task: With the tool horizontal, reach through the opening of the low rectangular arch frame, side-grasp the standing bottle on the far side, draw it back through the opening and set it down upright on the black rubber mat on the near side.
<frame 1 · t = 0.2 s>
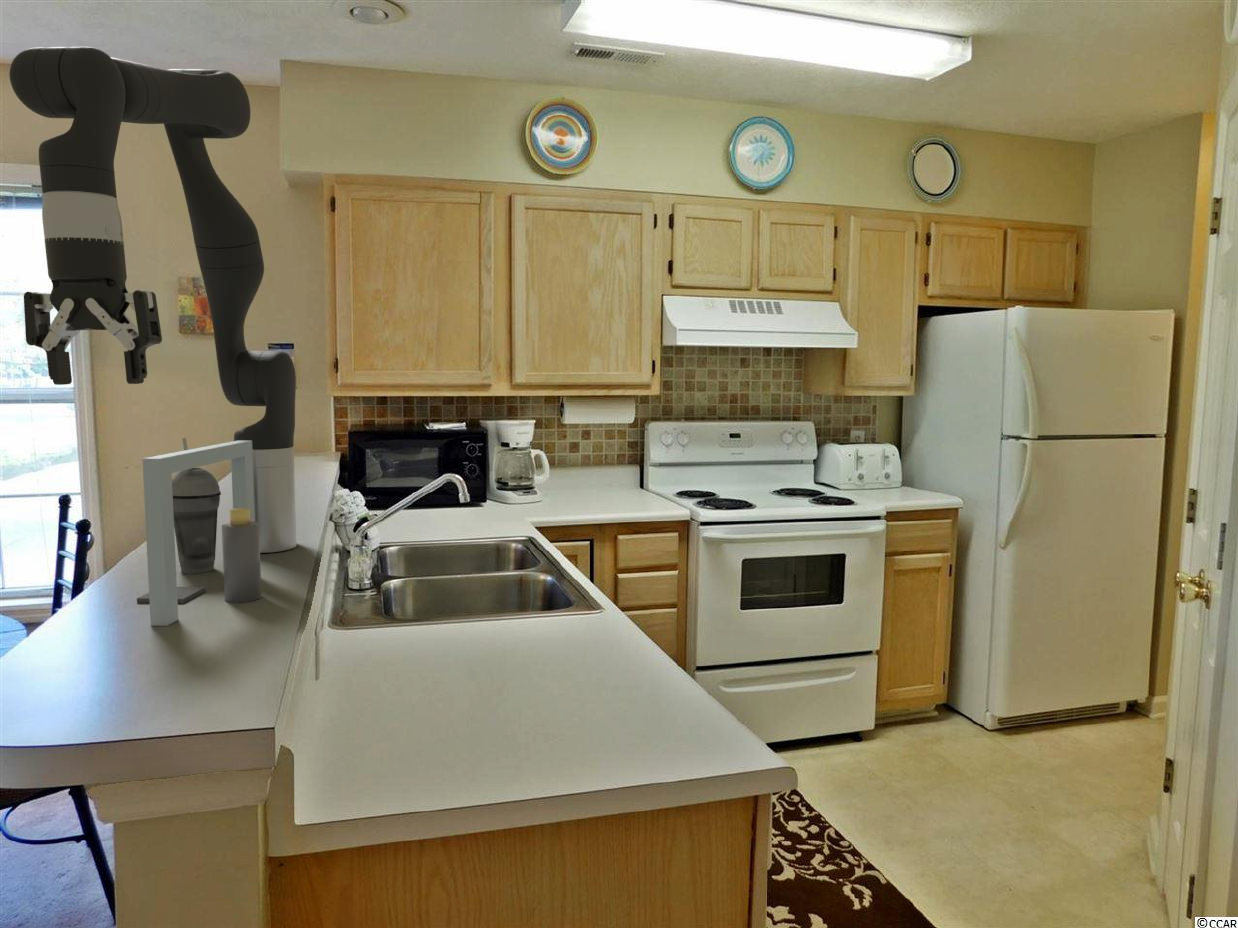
hand: (99, 384, 97), 29 cm above the counter, tool pointing down, fingers open, 8 cm apart
rectangular arch frame: (209, 597, 114), on the counter
beverage cup: (197, 571, 129), on the counter
mat: (172, 596, 114), on the counter
bottle: (243, 598, 114), on the counter
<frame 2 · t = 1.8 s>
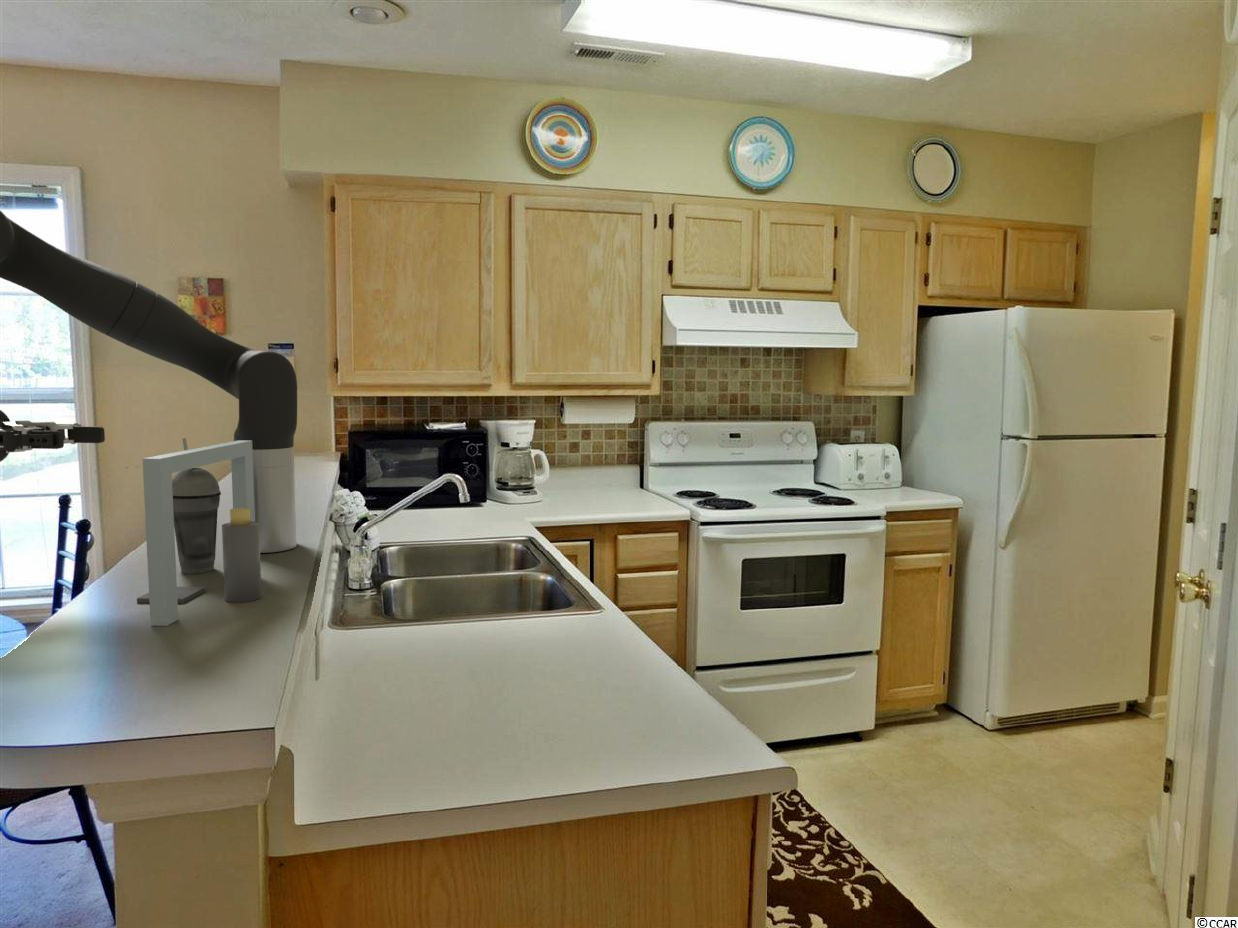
hand: (83, 437, 111), 21 cm above the counter, tool horizontal, fingers open, 8 cm apart
nothing on the counter moved.
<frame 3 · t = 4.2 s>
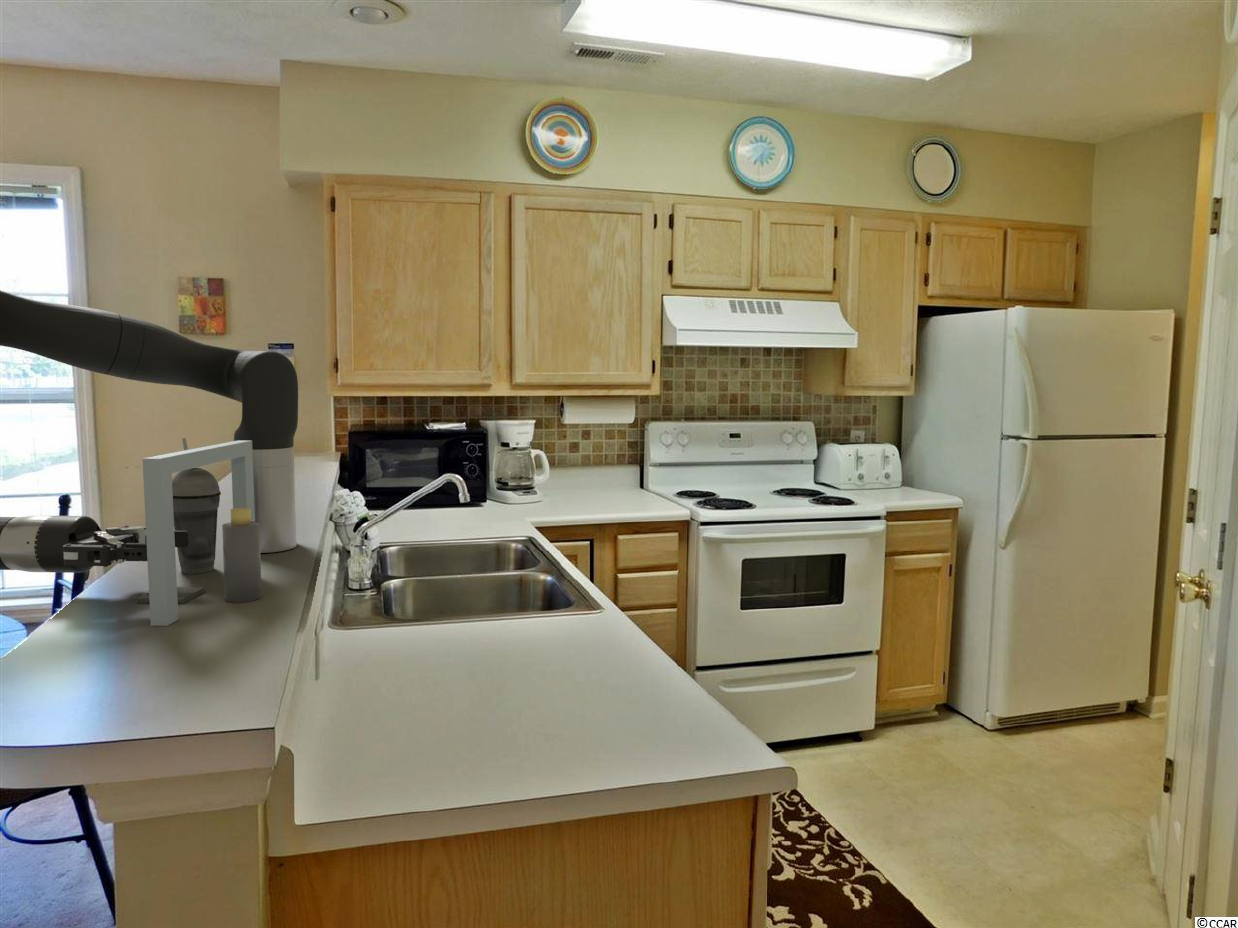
hand: (173, 545, 113), 7 cm above the counter, tool horizontal, fingers open, 8 cm apart
nothing on the counter moved.
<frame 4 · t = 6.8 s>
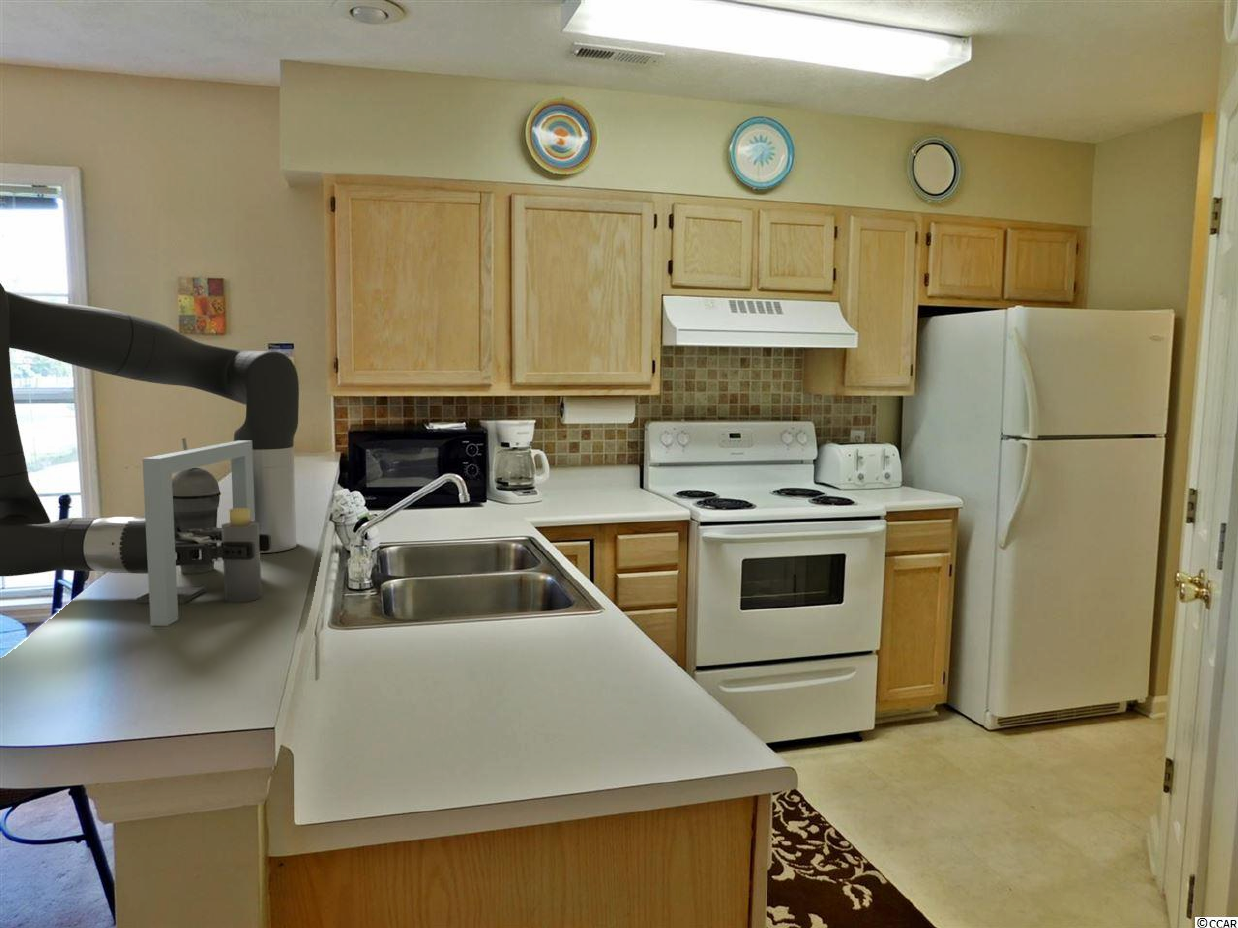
hand: (261, 546, 113), 7 cm above the counter, tool horizontal, fingers closed on bottle, 4 cm apart
bottle: (243, 597, 114), on the counter, touching gripper
everything else where it was.
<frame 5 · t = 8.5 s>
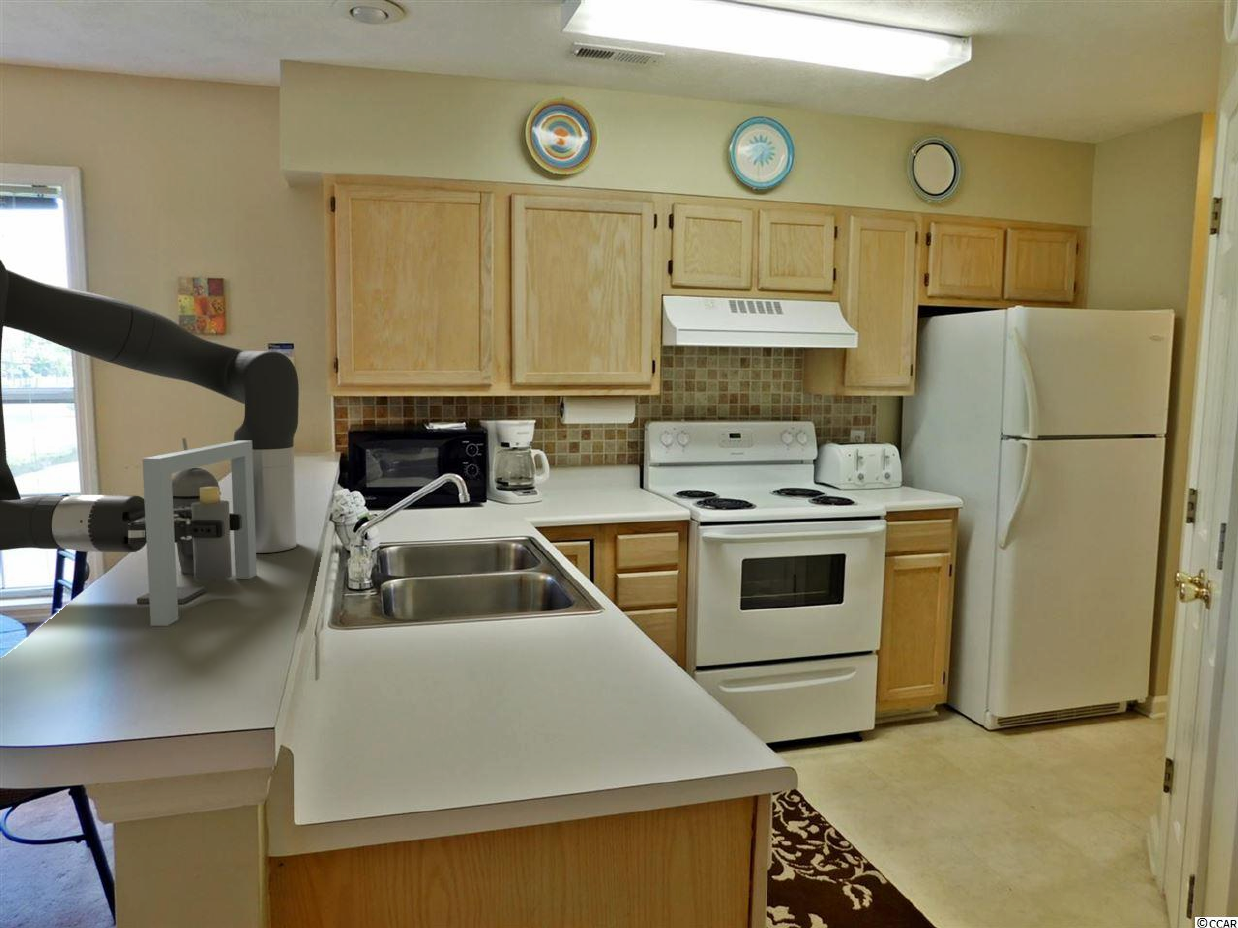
hand: (231, 525, 113), 10 cm above the counter, tool horizontal, fingers closed on bottle, 4 cm apart
bottle: (213, 576, 113), point 3 cm above the counter, touching gripper
everything else where it was.
when the fingers open (8 cm above the counter, at t = 10.3 s): bottle stays where it is, resting on mat.
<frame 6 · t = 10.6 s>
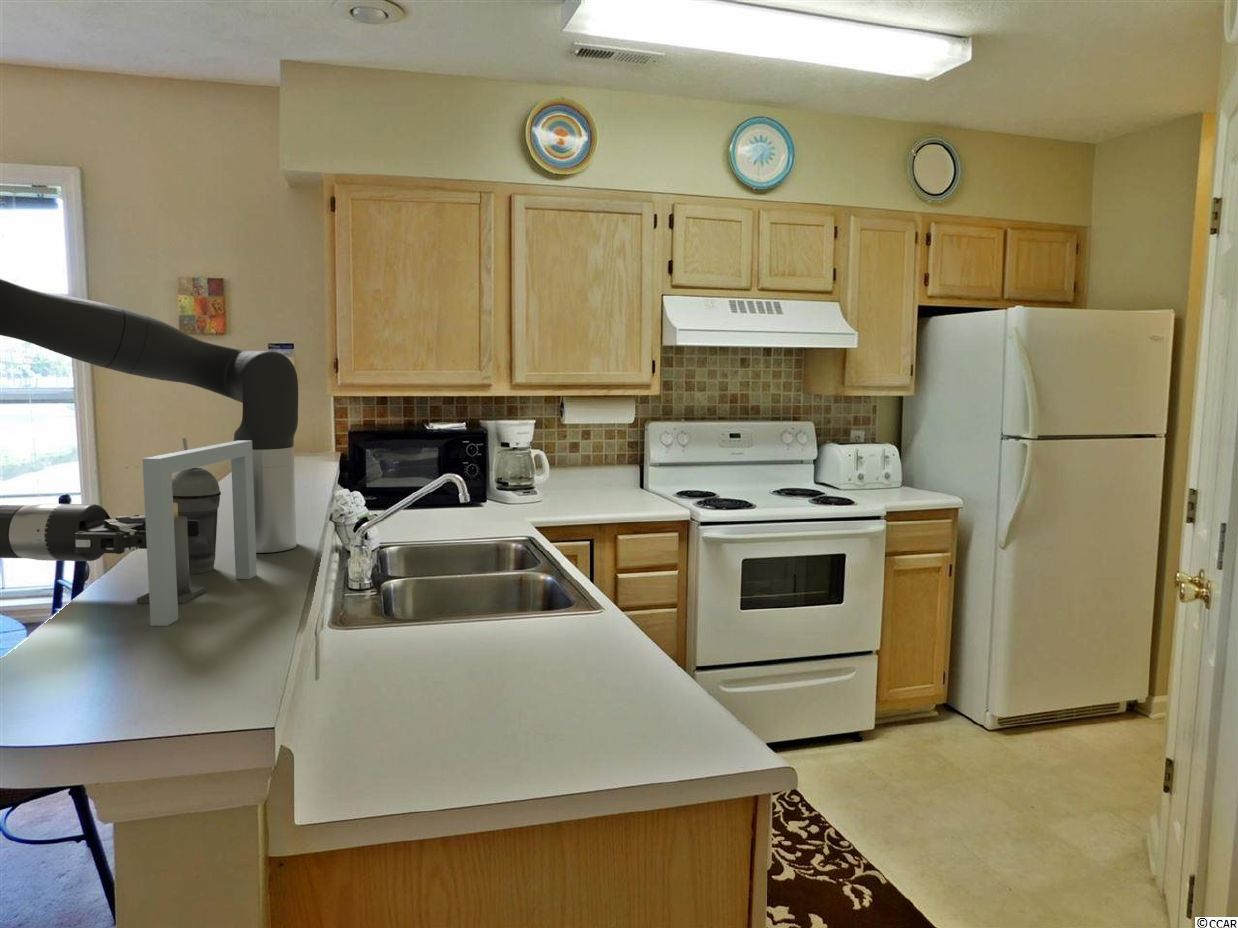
hand: (184, 533, 113), 9 cm above the counter, tool horizontal, fingers open, 7 cm apart
bottle: (171, 592, 113), point 1 cm above the counter, touching mat
everything else where it was.
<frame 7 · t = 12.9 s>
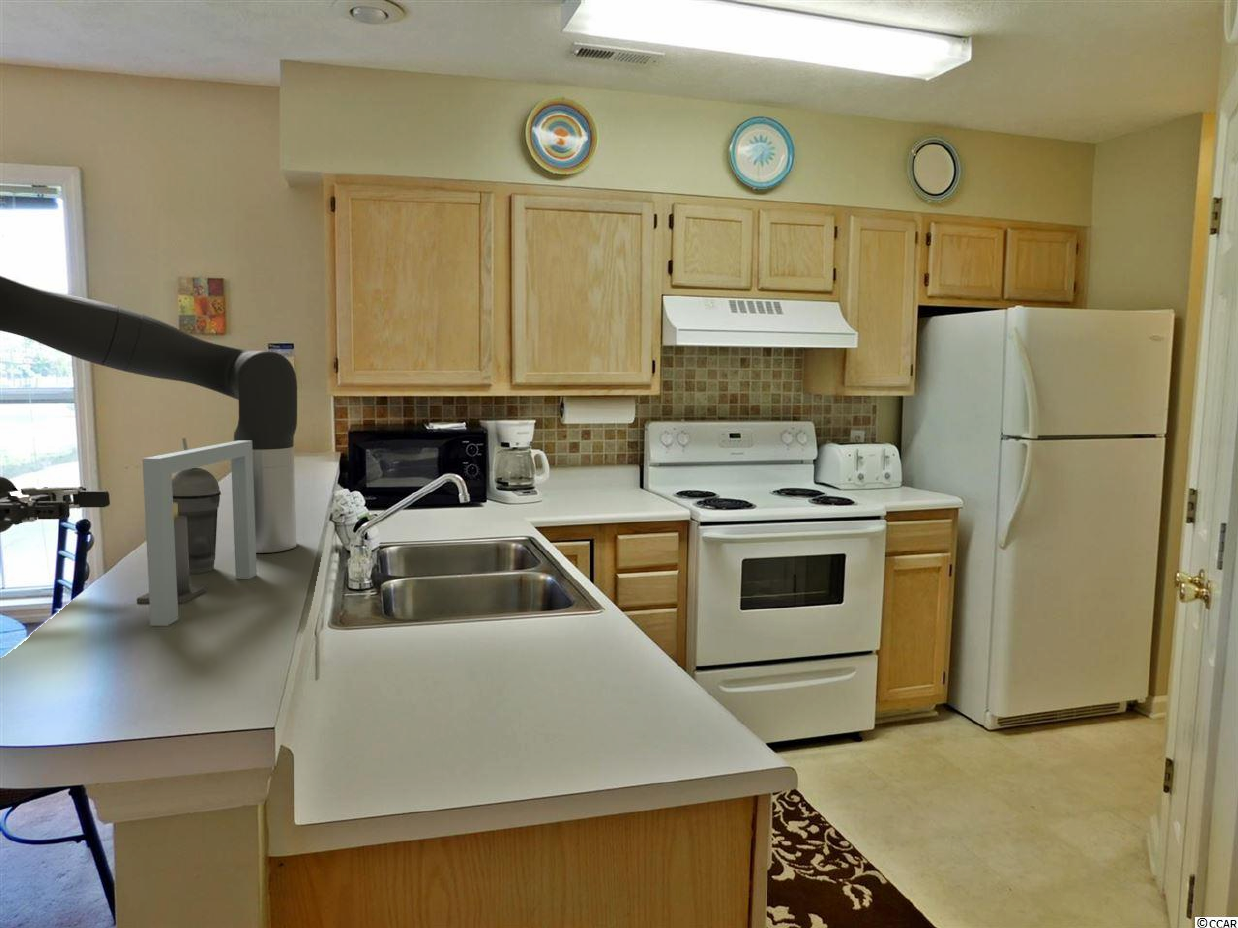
hand: (88, 504, 113), 12 cm above the counter, tool horizontal, fingers open, 8 cm apart
nothing on the counter moved.
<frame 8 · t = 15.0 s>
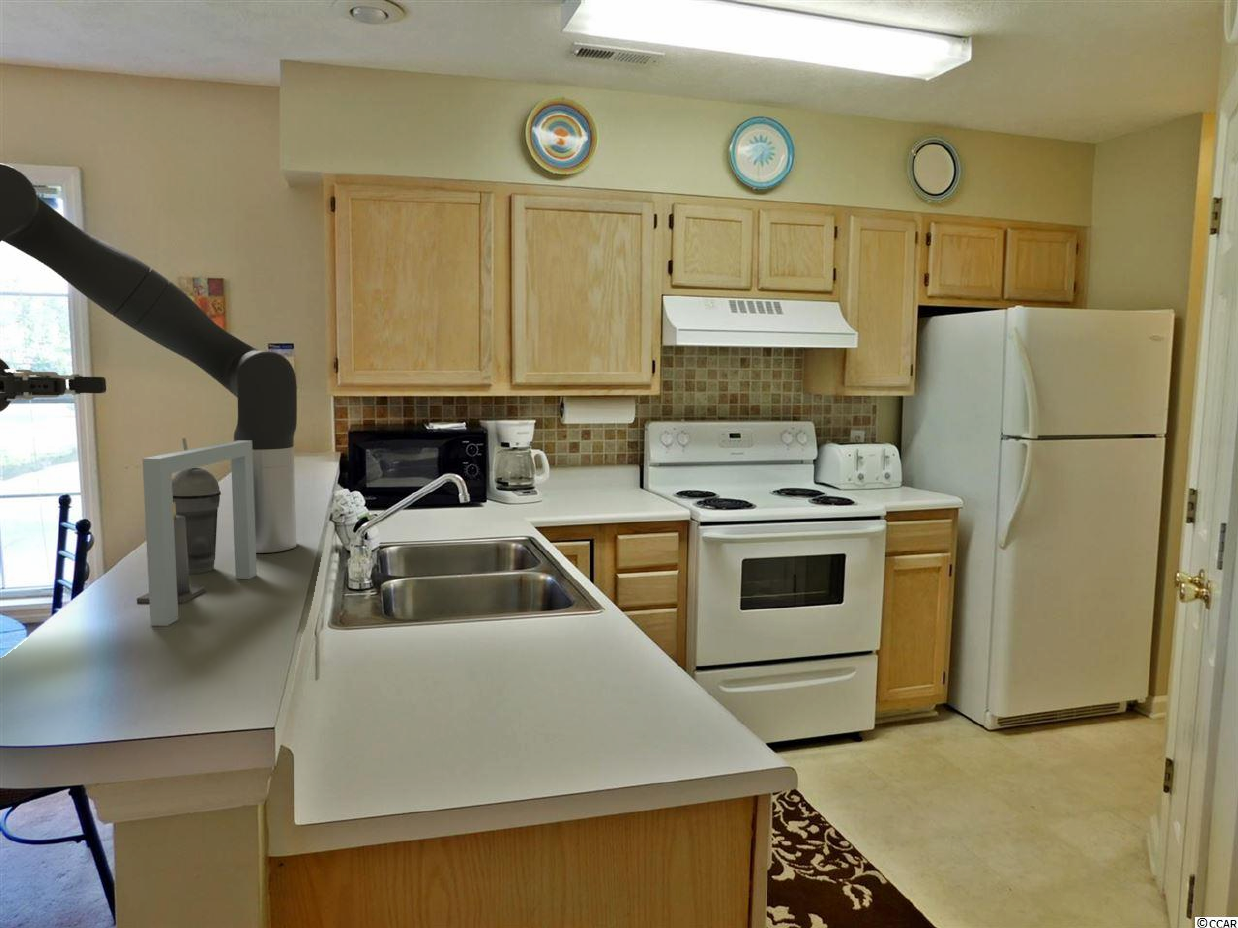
hand: (84, 385, 110), 28 cm above the counter, tool horizontal, fingers open, 8 cm apart
nothing on the counter moved.
at the end: bottle inside the target area on the mat (0.1 cm from its centre), point 0.7 cm above the mat's base; bottle tilted 2°; the gripper is holding nothing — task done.
